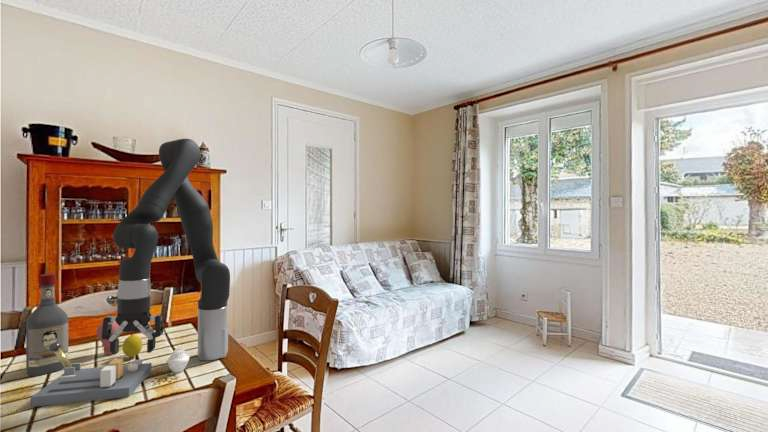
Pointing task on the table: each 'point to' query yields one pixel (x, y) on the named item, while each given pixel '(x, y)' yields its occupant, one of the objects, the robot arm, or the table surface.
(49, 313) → the liquor
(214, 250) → the robot arm
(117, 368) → the orange slider
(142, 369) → the panel
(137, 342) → the lemon
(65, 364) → the brass lever
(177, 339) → the table surface
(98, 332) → the light bulb
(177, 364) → the white egg shape
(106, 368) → the grey slider
